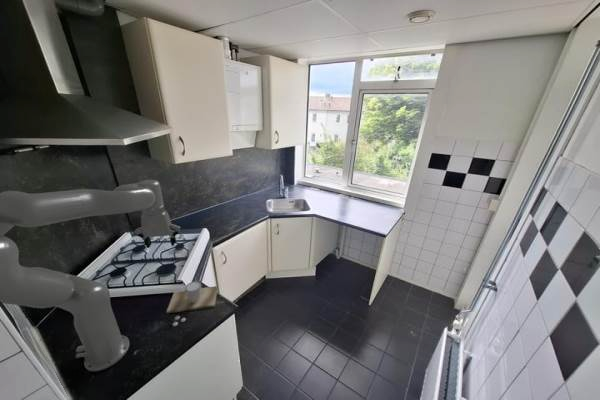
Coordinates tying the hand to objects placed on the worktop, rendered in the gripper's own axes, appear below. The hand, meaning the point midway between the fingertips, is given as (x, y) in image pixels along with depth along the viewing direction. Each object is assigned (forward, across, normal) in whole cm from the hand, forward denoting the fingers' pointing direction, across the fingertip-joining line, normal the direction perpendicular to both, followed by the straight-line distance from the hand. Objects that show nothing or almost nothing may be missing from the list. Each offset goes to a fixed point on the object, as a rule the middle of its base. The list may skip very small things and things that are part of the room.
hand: (161, 245), depth 97 cm
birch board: (+28, +11, -5) cm, 31 cm away
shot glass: (+27, +12, -5) cm, 30 cm away
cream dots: (+28, +7, -16) cm, 33 cm away
